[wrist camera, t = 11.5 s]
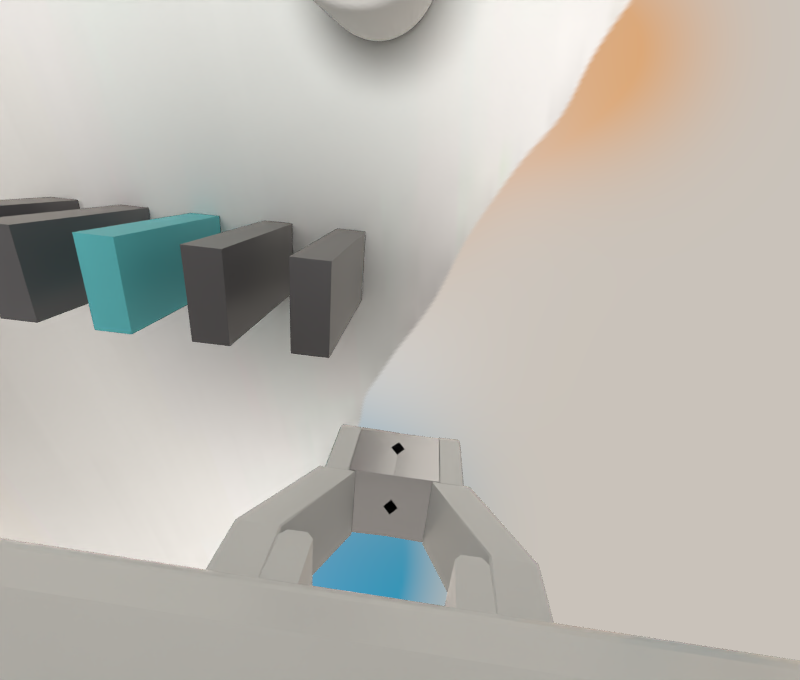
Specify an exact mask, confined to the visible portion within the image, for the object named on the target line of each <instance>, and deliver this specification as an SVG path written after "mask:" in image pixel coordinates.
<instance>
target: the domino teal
mask: <svg viewBox="0 0 800 680" xmlns="http://www.w3.org/2000/svg"><path fill="white" fill-rule="evenodd" d="M218 233H221V230H220V219H219V216H215V215H206V214H197V213H188V214H182V215H176V216H170V217H163V218H157V219H151V220H145V221H139V222H133V223H126V224H120V225H114V226H108V227H102V228H96V229H89V230H83V231H77V232H72V234H73V238H74V242H75V247H76V251H77V255H78V260H79V264H80V268H81V273H82V277H83V281H84V285H85V290H86V294H87V298H88V303H89V307H90V311H91V316H92V320H93V324H94V328H95V330H100V331H109V332H117V333H125V334H133V333H135V332H137V331H139V330H141V329H143V328H145V327H146V326H148V325H150V324H152V323H154V322H156V321H158V320H160V319H161V318H163V317H165V316H167V315H169V314H171V313H173V312H175V311H176V310H178V309H180V308H182V307H184V306H186V305H188V304H187V296H186V289H185V281H184V273H183V265H182V258H181V250H180V244H183V243H186V242H190V241H194V240H197V239H201V238H204V237H208V236H211V235H215V234H218Z"/></svg>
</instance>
